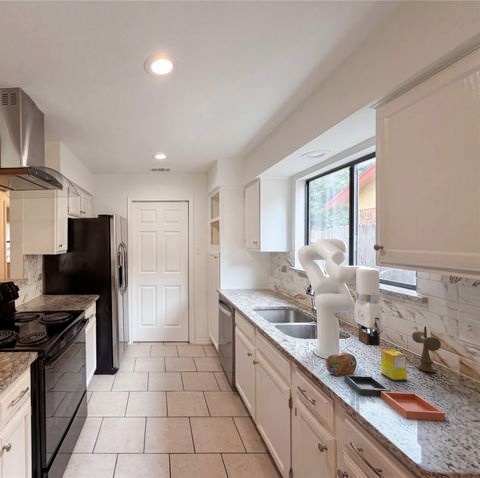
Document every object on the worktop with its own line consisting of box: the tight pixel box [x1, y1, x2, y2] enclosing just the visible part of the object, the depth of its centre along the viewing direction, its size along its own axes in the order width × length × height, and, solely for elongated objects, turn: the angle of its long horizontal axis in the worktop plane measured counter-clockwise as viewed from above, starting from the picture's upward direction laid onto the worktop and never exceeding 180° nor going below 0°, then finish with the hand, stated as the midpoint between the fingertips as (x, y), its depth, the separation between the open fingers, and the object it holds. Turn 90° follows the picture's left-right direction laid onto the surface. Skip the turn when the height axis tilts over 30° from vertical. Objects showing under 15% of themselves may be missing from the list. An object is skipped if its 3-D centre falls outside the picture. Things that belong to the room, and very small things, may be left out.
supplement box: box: [380, 349, 408, 382], centre depth 113 cm, size 6×6×11 cm
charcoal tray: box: [343, 374, 392, 397], centre depth 105 cm, size 11×11×2 cm
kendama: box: [411, 325, 442, 373], centre depth 119 cm, size 6×10×20 cm, turn 163°
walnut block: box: [357, 328, 381, 347], centre depth 108 cm, size 5×5×5 cm
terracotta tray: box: [380, 391, 446, 422], centre depth 92 cm, size 12×12×2 cm
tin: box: [325, 352, 358, 377], centre depth 117 cm, size 15×3×8 cm, turn 105°
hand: (368, 342), depth 108 cm, fingers closed on walnut block, 5 cm apart
